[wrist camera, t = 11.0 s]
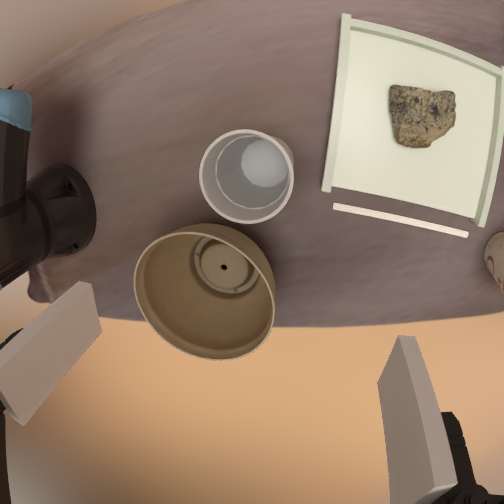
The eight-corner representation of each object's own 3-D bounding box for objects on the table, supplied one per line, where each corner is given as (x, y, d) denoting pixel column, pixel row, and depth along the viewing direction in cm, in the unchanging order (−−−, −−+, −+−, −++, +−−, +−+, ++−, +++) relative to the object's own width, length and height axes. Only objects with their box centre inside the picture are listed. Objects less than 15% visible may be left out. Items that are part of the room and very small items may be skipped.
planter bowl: (175, 194, 40) (131, 218, 30) (297, 218, 38) (289, 253, 28) (170, 296, 46) (136, 338, 37) (273, 323, 44) (260, 375, 35)
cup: (221, 157, 37) (181, 172, 26) (271, 115, 34) (249, 109, 23) (263, 207, 38) (240, 241, 27) (315, 167, 35) (314, 185, 24)
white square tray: (321, 186, 36) (321, 191, 33) (340, 20, 27) (342, 13, 25) (475, 221, 33) (484, 227, 30) (498, 70, 24) (507, 68, 22)
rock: (448, 151, 30) (464, 155, 25) (388, 145, 31) (398, 148, 27) (447, 93, 27) (463, 90, 23) (386, 85, 28) (395, 79, 24)
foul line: (332, 208, 36) (332, 209, 36) (333, 202, 36) (333, 202, 36) (466, 237, 34) (467, 237, 33) (468, 231, 33) (468, 232, 33)
